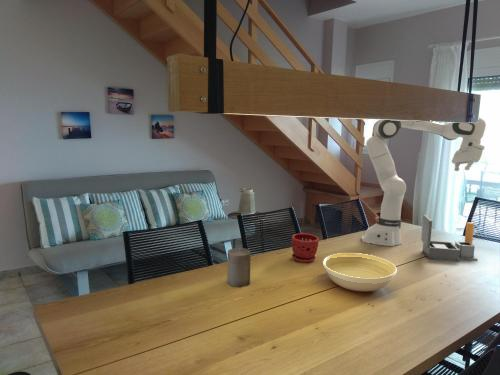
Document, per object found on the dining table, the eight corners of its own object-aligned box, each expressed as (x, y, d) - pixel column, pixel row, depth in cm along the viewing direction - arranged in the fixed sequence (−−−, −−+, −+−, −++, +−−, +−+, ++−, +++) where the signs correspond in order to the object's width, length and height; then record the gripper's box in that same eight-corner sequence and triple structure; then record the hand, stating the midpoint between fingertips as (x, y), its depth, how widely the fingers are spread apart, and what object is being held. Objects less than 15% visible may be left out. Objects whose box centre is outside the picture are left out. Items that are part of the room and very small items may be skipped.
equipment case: (426, 258, 196) (429, 220, 193) (420, 250, 210) (423, 214, 207) (458, 261, 193) (462, 222, 190) (450, 252, 207) (453, 216, 204)
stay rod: (464, 252, 208) (467, 223, 206) (462, 250, 212) (465, 222, 209) (472, 252, 207) (475, 224, 205) (469, 250, 211) (472, 222, 209)
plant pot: (289, 263, 186) (290, 239, 185) (293, 254, 199) (293, 232, 197) (316, 265, 183) (317, 241, 182) (318, 257, 196) (319, 234, 194)
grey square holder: (456, 258, 197) (457, 245, 196) (450, 252, 207) (451, 240, 206) (477, 260, 195) (478, 247, 194) (470, 254, 205) (471, 241, 204)
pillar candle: (252, 279, 165) (253, 246, 163) (246, 288, 156) (247, 253, 153) (231, 277, 167) (231, 243, 165) (223, 285, 158) (224, 250, 156)
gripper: (453, 147, 221) (445, 169, 221) (475, 142, 201) (467, 167, 200) (463, 150, 221) (455, 173, 221) (486, 146, 201) (478, 171, 201)
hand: (461, 170), depth 211 cm, fingers open, 8 cm apart
